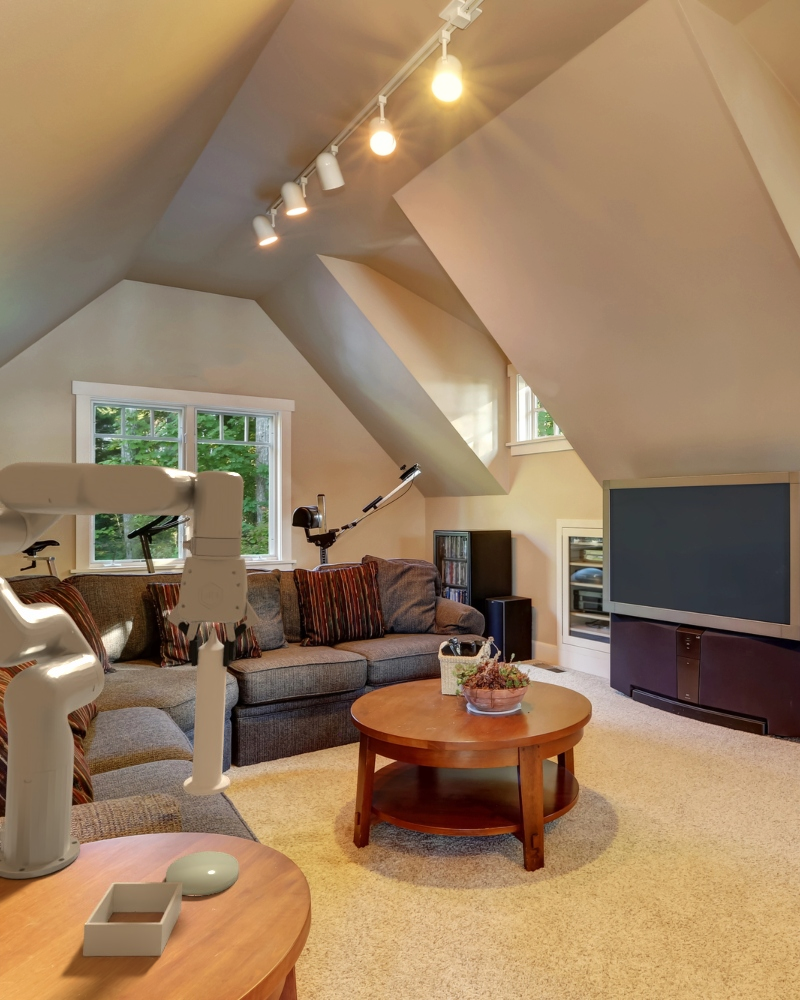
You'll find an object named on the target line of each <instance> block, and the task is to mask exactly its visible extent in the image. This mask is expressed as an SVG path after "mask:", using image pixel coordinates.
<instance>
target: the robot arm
mask: <svg viewBox="0 0 800 1000" xmlns="http://www.w3.org/2000/svg"><path fill="white" fill-rule="evenodd" d="M244 489H245V488H244V479H243V477H242V475H240V473H237V472H235V471H227V470H225V471H223V470H204V471H200V472H197V471H196V472H195V471H190V470H185V469H180V468H179V469H178V468H173V467H167V466H162V465H161V466H160V465H146V464H145V465H143V464H141V465H139V464H135V465H134V464H133V465H132V464H98V463H96V462H94V463H93V462H91V463H89V462H51V461H49V462H47V461H43V462H42V461H18V462H14V463H10V464H9V465H6V466H4V467H3V468H1V469H0V504H1V505H2V506H3V507H0V557H2V556H3V557H6V556H12V555H16V554H20V553H21V552H25V550H27V549H29V548H30V547H31V546H33V545H34V544H35V543H36V542H37V541H38V540H40V539H41V537H42V536H44V535H45V534H46V533H47V532H48V531H49V530H50V529H52V528H53V526H55V525H56V524H57V523H58V522H59V521H60V520H61V519H62V518H64V516H65V515H75V516H76V515H77V516H95V515H98V514H109V515H112V514H114V515H135V516H136V515H138V516H140V515H141V516H190V515H193V516H192V517H193V519H192V536H191V538H190V539H188V540H183V542H182V549H183V550H188V551H190V554H191V556H186V557H185V560H184V563H183V564H184V565H183V568H182V575H181V580H180V589H179V595H178V596H179V597H178V603H177V604H176V605H175V607H173V609H172V610H171V611H170V613H169V614H168V616H167V620H168V622H170V623H172V624H173V625H174V626H176V627H177V628H178V629H179V630H180V632H182V633H183V634H184V636H185V637H186V639H187V640H188V657H187V658H188V660H189V661H191V667H197V661H198V649H199V647H201V646H202V642H203V641H202V639H203V638H202V637H201V634H200V629H201V626H202V624H203V623H212V624H213V623H214V624H215V623H218V624H219V623H222V624H223V623H224V624H225V630H226V639H225V641H224V642H223V645H224V656H223V666H224V667H227V668H228V667H230V665H231V664H232V661H235V660H236V646H237V645H236V644H237V643H236V642H237V639H238V638H239V636H241V635H242V634H243V633H244V632H245V631H247V630H249V628H251V627H253V626H254V625H256V624H257V623H258V622H259V621H260V618H259V616H258V614H257V612H255V609H254V608H253V606H252V605H251V603H250V602H249V601H248V600H249V596H248V595H249V594H248V593H249V592H248V573H247V565H246V560H245V557H242V556H241V554H242V552H241V551H242V533H243V529H242V528H243V507H244V506H243V505H244ZM244 617H247V618H246V620H244V621H243V622H241V623H240V624H239V625H238V624H237V623H238V622H240V621H241V620H243V619H244ZM32 661H36V664H32V665H30V666H29V667H26V668H24V669H23V670H21V671H20V672H18V673H17V674H15V675H14V677H12V679H11V680H10V681H9V682H8V684H7V686H6V688H5V691H4V694H3V709H4V710H3V711H4V715H5V721H6V729H7V765H6V766H7V772H6V773H7V774H6V790H5V791H6V792H5V793H6V794H5V795H6V797H5V815H4V816H5V817H4V821H3V822H2V823H1V826H0V843H1V844H0V877H1V878H4V879H5V878H6V879H14V880H15V879H16V880H19V879H20V880H23V879H24V880H25V879H33V878H38V877H42V876H46V875H49V874H53V873H54V872H57V871H60V870H61V869H63V868H65V867H67V866H69V865H70V864H72V863H73V862H74V861H75V860H76V859H77V858H78V856H79V855H80V852H81V843H80V842H81V841H79V840H78V838H77V837H75V836H73V835H71V832H72V831H71V829H72V828H71V825H72V810H73V809H72V808H73V806H72V805H73V783H74V763H75V740H74V735H73V731H72V728H71V726H70V724H69V723H70V722H69V719H68V715H70V714H71V713H73V712H75V711H76V710H78V709H80V708H83V707H85V706H86V705H88V704H90V703H92V702H94V700H96V699H97V698H98V697H99V696H100V694H101V692H102V691H103V689H104V686H105V681H106V679H105V678H106V676H105V670H104V668H103V665H102V663H101V661H100V659H99V657H98V656H97V654H96V653H95V652H94V650H93V648H92V647H91V645H90V644H89V642H88V640H87V639H86V638H85V636H84V635H83V633H82V631H81V630H80V628H79V627H78V625H77V624H76V622H75V621H74V620H73V618H72V617H71V615H69V613H67V611H66V610H64V609H63V608H61V606H60V607H59V606H58V605H56V604H54V603H50V602H34V603H30V604H25V603H23V601H21V600H20V597H18V595H17V594H16V593H15V592H14V591H13V588H12V586H11V585H10V583H9V582H8V581H7V580H6V578H5V577H4V576H3V575H2V574H1V573H0V668H9V667H11V668H12V667H15V666H19V665H22V664H25V663H28V662H32Z"/></svg>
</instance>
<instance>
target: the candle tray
mask: <svg viewBox="0 0 800 1000" xmlns="http://www.w3.org/2000/svg"><path fill="white" fill-rule="evenodd" d="M182 897H183V896H182V882H166V881H165V882H163V881H162V882H160V881H159V882H157V881H151V882H145V881H143V882H142V881H140V882H139V881H137V882H136V881H135V882H134V881H131V882H130V881H128V882H127V881H123V882H122V881H120V882H119V881H116V882H113V881H112V882H111V884H110V886H109V887H108V888H107V890H106V892H105V893H104V894H103V896H102V897H101V899H100V901H99V902H98V904H97V905H96V906H95V908H94V909H93V911H92V912H91V913H90V915H89V917H88V918H87V920H86V922H85V923H84V924H83V950H82V957H156V956H157V957H159V956H160V957H161V956H162V954H163V953H164V949H165V947H166V946H167V943H168V941H169V940H170V939H169V938H170V937H171V934H172V932H173V931H174V927H175V926H176V923H177V922H178V918H179V917H180V914H181V912H182ZM135 911H136V912H135ZM180 911H181V912H180ZM113 913H164V914H163V915H162V917H161V919H160V921H159V922H108V921H109V920H110V918H111V916H112V915H113Z"/></svg>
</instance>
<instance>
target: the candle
mask: <svg viewBox="0 0 800 1000" xmlns="http://www.w3.org/2000/svg"><path fill="white" fill-rule="evenodd" d="M217 634H218V633H217V630H216V628H215V627H211V631H210V634H209V638H208V639H207V641H205V642H204V644H201V647H199V649H198V661H197V665H196V681H195V682H196V684H195V686H196V687H195V705H194V708H195V709H194V729H193V731H194V732H193V754H192V775H191V776H190V777H188V778H186V779H185V781H183V783H182V785H183V786H182V789H183V790H184V791H185V793H187V794H189V795H193V796H203V797H204V796H205V797H207V796H212V795H217V794H220V793H223V792H225V791H226V790H228V789H229V787H230V786H231V780H230V778H229V777H228V776H227V775H225V774H223V763H224V762H223V760H224V758H223V756H224V738H225V736H224V734H225V733H224V732H225V716H226V715H225V713H226V691H227V689H226V688H227V669H228V667H224V666H223V656H224V643H222V642H221V641H220V640H219V638H218V635H217Z"/></svg>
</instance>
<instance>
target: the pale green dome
mask: <svg viewBox="0 0 800 1000" xmlns="http://www.w3.org/2000/svg"><path fill="white" fill-rule="evenodd" d="M239 875H240V863H239V861H238V859H237V858H236V857H234V856H233V855H232V854H229V853H226V852H222V851H213V850H208V851H205V850H204V851H197V852H194V853H189V854H186V855H184V856H181V857H180V858H177V859H176V860H175V861H173V862H171V864H170V865H169V866H168V868H167V869H166V871H165V882H182V895H183V894H184V895H194V896H195V895H208V896H210V895H209V894H212V895H215V894H214V893H216V894H219V893H221V892H224V891H225V890H227V889H229V888H230V887H231V886H233V885H234V884H235V883H236V882H237V880H238V879H239Z"/></svg>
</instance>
